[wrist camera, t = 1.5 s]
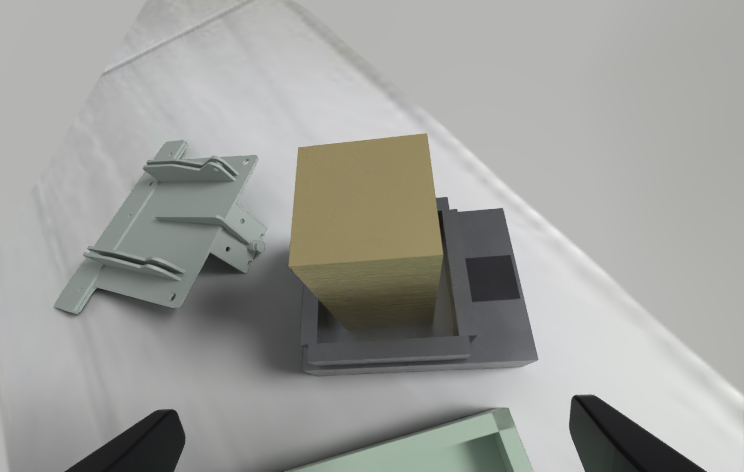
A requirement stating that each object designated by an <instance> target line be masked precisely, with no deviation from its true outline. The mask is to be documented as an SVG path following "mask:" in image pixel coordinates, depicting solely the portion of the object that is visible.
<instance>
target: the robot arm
mask: <svg viewBox="0 0 744 472" xmlns="http://www.w3.org/2000/svg"><path fill="white" fill-rule="evenodd" d="M569 429H570V434H571V437H572V440H573V442H574V445H575V447H576V450H577V452H578V455H579V457H580V460H581V462H582V465H583V467H584V470H585V472H707V471H705V470H704V469H702V468H701V467H699V466H698V465H696V464H695V463H693V462H692V461H690V460H689V459H688V458H686V457H685V456H683V455H682V454H680V453H679V452H677V451H676V450H674V449H673V448H671V447H670V446H669V445H667V444H666V443H664V442H663V441H661V440H660V439H658V438H657V437H655V436H654V435H652V434H651V433H649V432H648V431H647V430H645V429H644V428H642V427H641V426H639V425H638V424H636V423H635V422H633V421H632V420H630V419H629V418H628V417H626V416H625V415H623V414H622V413H620V412H619V411H617V410H616V409H614V408H613V407H611V406H610V405H609V404H607V403H606V402H604V401H603V400H601V399H600V398H598V397H597V396H594V395H575V396H573V397H572V400H571V409H570V420H569ZM184 445H185V433H184V430H183V427H182V424H181V422H180V419H179V416H178V414H177V412H176V411H175V410H173V409H166V410H157V411H154V412H153V413H151V414H150V415H148V416H147V417H145V418H144V419H142V420H141V421H139V422H138V423H136V424H135V425H133V426H132V427H130V428H129V429H127V430H126V431H124V432H123V433H121V434H120V435H118V436H117V437H115V438H114V439H112V440H111V441H109V442H108V443H107V444H105V445H104V446H102V447H101V448H99V449H98V450H96V451H95V452H93V453H92V454H90V455H89V456H87V457H86V458H84V459H83V460H81V461H80V462H78V463H77V464H75V465H74V466H72V467H71V468H69V469H68V470H66V471H65V472H174V470H175V468H176V465H177V463H178V460H179V458H180V455H181V453H182V450H183V448H184Z"/></svg>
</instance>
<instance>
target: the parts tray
mask: <svg viewBox="0 0 744 472" xmlns="http://www.w3.org/2000/svg"><path fill="white" fill-rule="evenodd" d="M283 472H534V471H533V468H532V466H531V463H530V461H529V458H528V456H527V453H526V451H525V448H524V446H523V443H522V441H521V438H520V436H519V433H518V431H517V428H516V426H515V423H514V421H513V418H512V416H511V413H510V411H509V408H495V409H492V410H488V411H485V412H481V413H478V414H475V415H471V416H468V417H465V418H461V419H458V420H454V421H451V422H448V423H444V424H441V425H438V426H434V427H431V428H428V429H424V430H421V431H417V432H414V433H411V434H407V435H404V436H401V437H397V438H394V439H391V440H387V441H384V442H380V443H377V444H374V445H370V446H367V447H364V448H360V449H357V450H354V451H350V452H347V453H343V454H340V455H337V456H333V457H330V458H327V459H323V460H320V461H317V462H313V463H310V464H306V465H303V466H300V467H296V468H293V469H290V470H286V471H283Z"/></svg>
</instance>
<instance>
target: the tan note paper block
mask: <svg viewBox="0 0 744 472" xmlns="http://www.w3.org/2000/svg"><path fill="white" fill-rule="evenodd" d="M442 260H443V249H442V242H441V234H440V227H439V219H438V212H437V204H436V197H435V189H434V182H433V174H432V167H431V159H430V152H429V144H428V137H427V133H426V134H417V135H408V136H399V137H390V138H381V139H372V140H363V141H353V142H344V143H335V144H326V145H317V146H308V147H299V148H298V158H297V170H296V182H295V194H294V206H293V218H292V229H291V241H290V253H289V265H288V267H289V268H290V269H291V270H292V271H293V272H294V273H295V274H296V275H297V276H298V278H299V279H300V280H301V281H302V282H303V283H304V284H305V285H306V286H307V287H308V288H309V289H310V291H311V292H312V293H313V294H314V295H315V296H316V297H317V298H318V299H319V300H320V301H321V303H322V304H323V305H324V306H325V307H326V308H327V309H328V310H329V311H330V312H331V313H332V314H333V316H334V317H335V318H336V319H337V320H338V321H339V322H340V323H341V324H342V325H343V326H344V327H345V329H360V328H377V327H395V326H413V325H430V324H433V319H434V313H435V306H436V299H437V293H438V286H439V280H440V273H441V266H442Z"/></svg>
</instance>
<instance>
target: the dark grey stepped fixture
mask: <svg viewBox="0 0 744 472" xmlns="http://www.w3.org/2000/svg"><path fill="white" fill-rule="evenodd" d="M436 204H437V212H438V219H439V227H440V234H441V242H442V249H443V260H442V266H441V273H440V280H439V286H438V293H437V299H436V306H435V313H434V319H433V324H430V325H413V326H395V327H377V328H360V329H345V327H344V326H343V325H342V324H341V323H340V322H339V321H338V320H337V319H336V318H335V317H334V316H333V314H332V313H331V312H330V311H329V310H328V309H327V308H326V307H325V306H324V305H323V304H322V303H321V301H320V300H319V299H318V298H317V297H316V296H315V295H314V294H313V293H312V292H311V291H310V289H309V288H308V287H307V286H306V285H305V284H304V286H303V302H302V318H301V334H300V345H302V346H304V348H303V365H302V371H304V372H307V373H310V374H313V375H316V376H328V375H351V374H373V373H396V372H419V371H441V370H464V369H487V368H509V367H523V366H525V365H528V364H530V363H533V362H535V361H537V360H538V356H537V352H536V348H535V343H534V339H533V335H532V330H531V326H530V322H529V318H528V313H527V309H526V305H525V301H524V296H523V292H522V288H521V283H520V279H519V275H518V271H517V266H516V262H515V258H514V253H513V249H512V245H511V241H510V236H509V232H508V228H507V224H506V219H505V215H504V211H503V208H499V209H488V210H476V211H465V212H457V209H452V210H449V204H448V198H447V197H442V198H436Z"/></svg>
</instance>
